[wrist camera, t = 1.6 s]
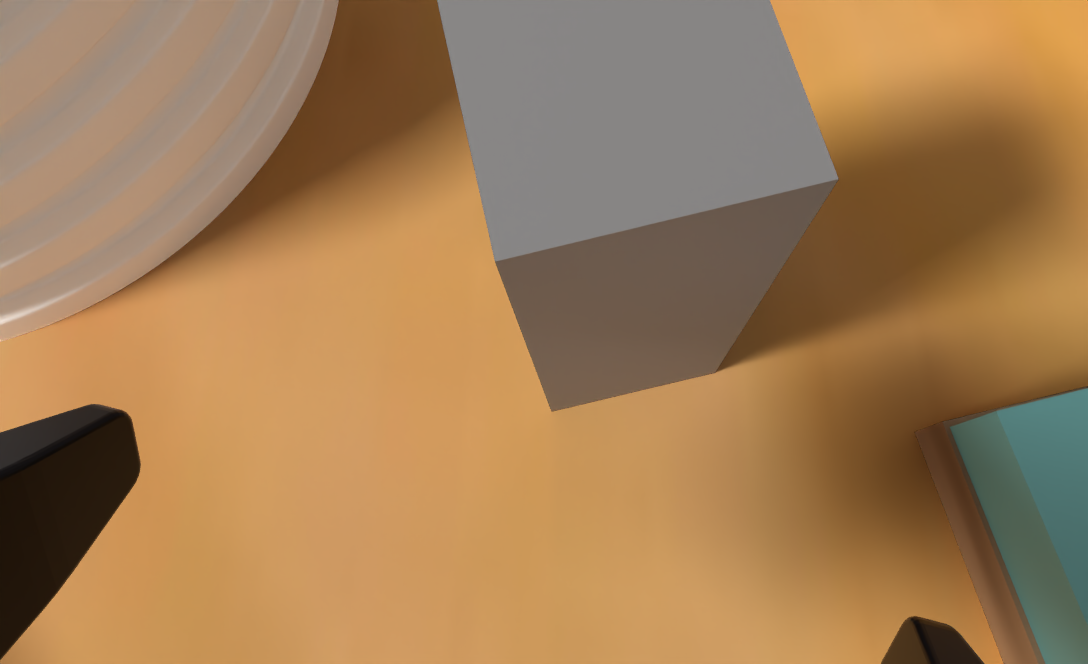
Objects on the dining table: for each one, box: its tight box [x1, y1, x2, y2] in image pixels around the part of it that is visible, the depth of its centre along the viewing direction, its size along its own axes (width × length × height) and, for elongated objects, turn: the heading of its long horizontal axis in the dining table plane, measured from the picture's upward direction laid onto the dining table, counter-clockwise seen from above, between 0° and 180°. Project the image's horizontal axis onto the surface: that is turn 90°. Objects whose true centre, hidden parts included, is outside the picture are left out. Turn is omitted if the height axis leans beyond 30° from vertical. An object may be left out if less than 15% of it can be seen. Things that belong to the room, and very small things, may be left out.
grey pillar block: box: [437, 0, 839, 411], centre depth 17 cm, size 5×5×12 cm
